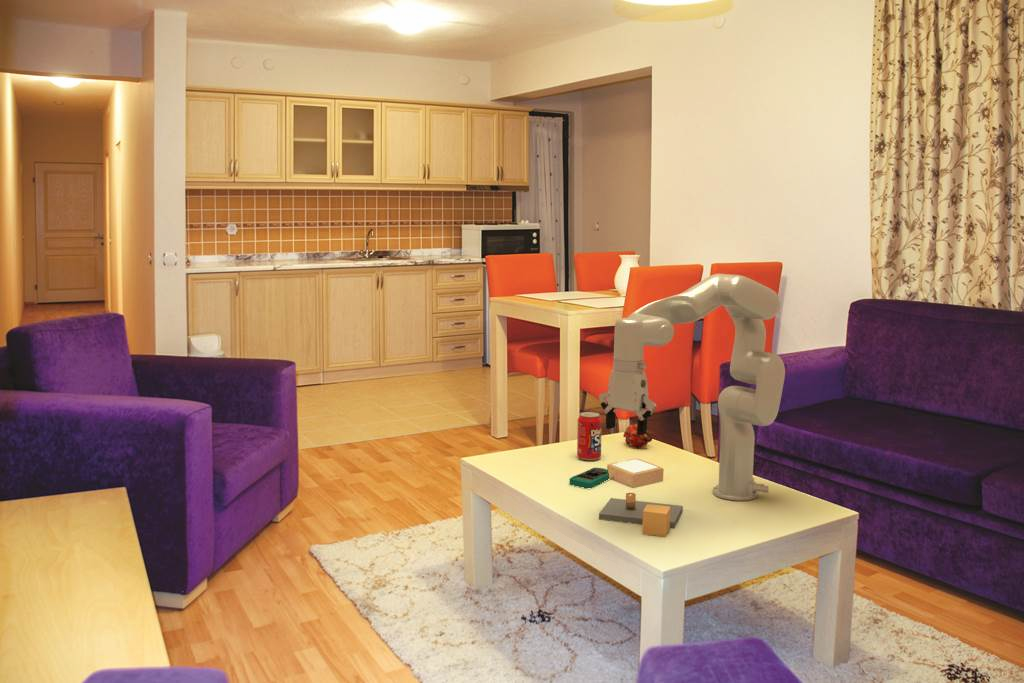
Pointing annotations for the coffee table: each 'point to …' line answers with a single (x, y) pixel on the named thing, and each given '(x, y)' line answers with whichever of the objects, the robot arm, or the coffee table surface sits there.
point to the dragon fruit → (635, 437)
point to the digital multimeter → (590, 478)
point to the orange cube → (656, 520)
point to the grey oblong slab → (635, 511)
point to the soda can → (589, 436)
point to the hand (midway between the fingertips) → (625, 431)
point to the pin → (630, 501)
